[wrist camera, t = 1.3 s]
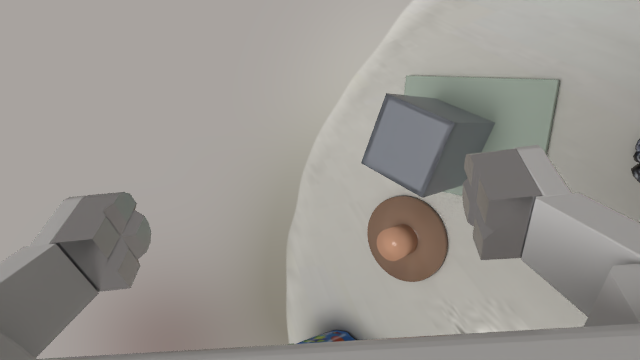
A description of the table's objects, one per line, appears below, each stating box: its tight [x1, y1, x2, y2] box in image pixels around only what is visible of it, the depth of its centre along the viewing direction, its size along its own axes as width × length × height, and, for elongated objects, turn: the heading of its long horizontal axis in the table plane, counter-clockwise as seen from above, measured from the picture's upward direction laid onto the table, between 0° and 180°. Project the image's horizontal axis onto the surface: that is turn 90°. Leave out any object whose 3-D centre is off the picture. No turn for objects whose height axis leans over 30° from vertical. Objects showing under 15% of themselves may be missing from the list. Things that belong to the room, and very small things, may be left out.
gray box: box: [361, 93, 495, 198], centre depth 39 cm, size 7×7×10 cm
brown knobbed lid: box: [368, 196, 448, 282], centre depth 47 cm, size 10×10×4 cm
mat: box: [404, 76, 560, 196], centre depth 43 cm, size 15×12×1 cm
